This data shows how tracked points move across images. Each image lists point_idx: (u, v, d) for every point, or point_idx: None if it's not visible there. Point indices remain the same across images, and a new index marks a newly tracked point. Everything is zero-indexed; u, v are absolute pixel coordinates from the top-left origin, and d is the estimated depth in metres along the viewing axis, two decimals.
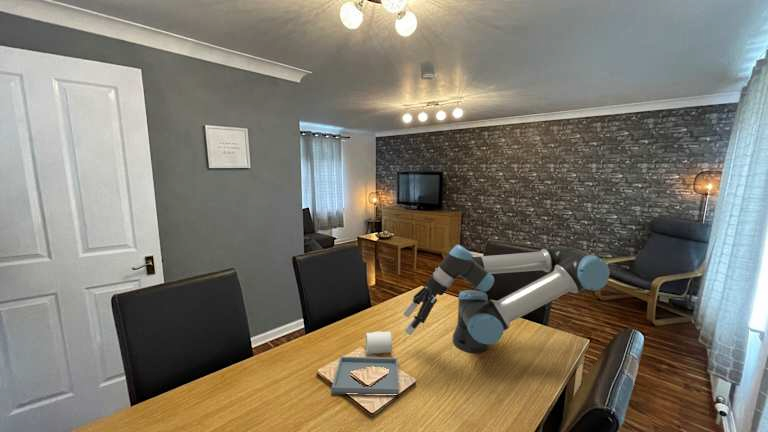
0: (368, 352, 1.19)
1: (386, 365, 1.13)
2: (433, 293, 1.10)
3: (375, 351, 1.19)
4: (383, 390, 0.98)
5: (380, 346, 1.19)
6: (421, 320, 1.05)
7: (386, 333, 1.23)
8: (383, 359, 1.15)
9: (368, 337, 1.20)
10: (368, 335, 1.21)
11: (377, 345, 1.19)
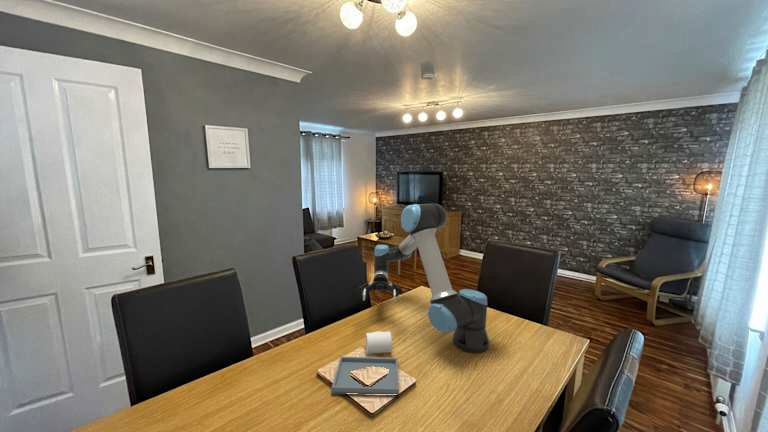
0: (368, 352, 1.19)
1: (386, 365, 1.13)
2: None
3: (375, 351, 1.19)
4: (383, 390, 0.98)
5: (380, 346, 1.19)
6: (358, 290, 1.40)
7: (386, 333, 1.23)
8: (383, 359, 1.15)
9: (368, 337, 1.20)
10: (368, 335, 1.21)
11: (377, 345, 1.19)
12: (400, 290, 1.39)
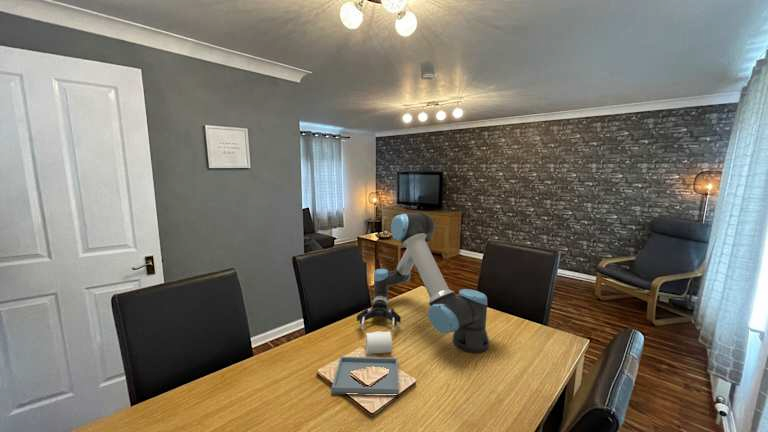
0: (368, 352, 1.19)
1: (386, 365, 1.13)
2: None
3: (375, 351, 1.19)
4: (383, 390, 0.98)
5: (380, 346, 1.19)
6: (357, 317, 1.40)
7: (386, 333, 1.23)
8: (383, 359, 1.15)
9: (368, 337, 1.20)
10: (368, 335, 1.21)
11: (377, 345, 1.19)
12: (399, 318, 1.38)
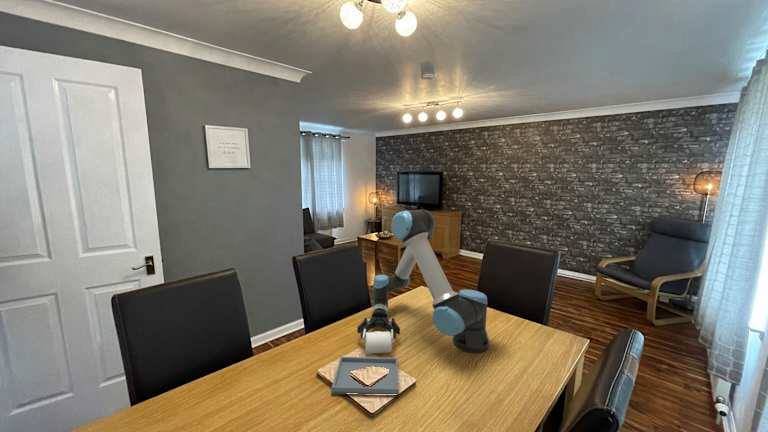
0: (367, 352, 1.19)
1: (386, 365, 1.13)
2: (370, 320, 1.38)
3: (374, 351, 1.19)
4: (383, 390, 0.98)
5: (379, 346, 1.19)
6: (357, 329, 1.29)
7: (386, 333, 1.23)
8: (383, 359, 1.15)
9: (367, 337, 1.20)
10: (367, 335, 1.21)
11: (376, 345, 1.19)
12: (398, 330, 1.28)
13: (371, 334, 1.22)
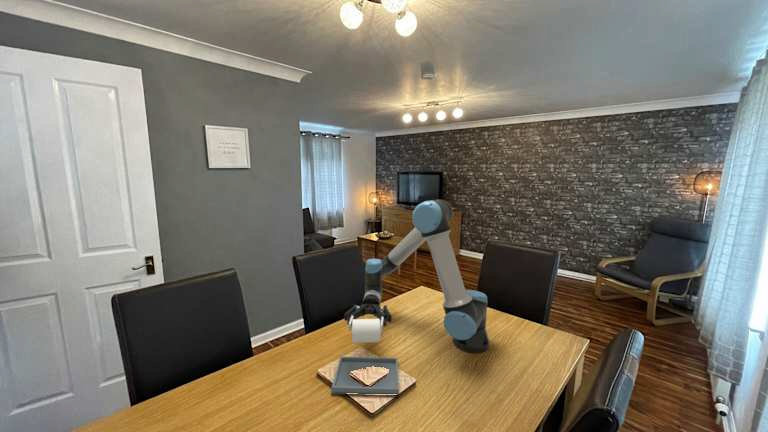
0: (353, 341, 1.06)
1: (386, 365, 1.13)
2: None
3: (361, 340, 1.06)
4: (383, 390, 0.98)
5: (367, 334, 1.05)
6: None
7: (375, 320, 1.08)
8: (383, 359, 1.15)
9: (354, 324, 1.06)
10: (354, 322, 1.07)
11: (363, 333, 1.05)
12: (389, 317, 1.13)
13: (358, 321, 1.08)
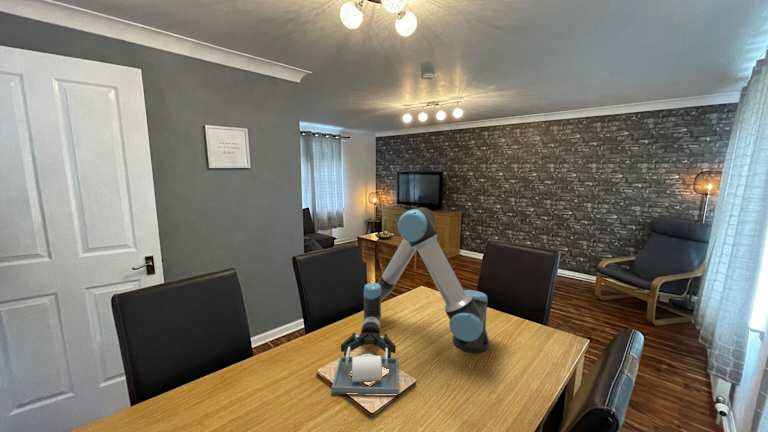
0: (353, 381, 1.01)
1: None
2: None
3: (362, 380, 1.01)
4: (383, 390, 0.98)
5: (368, 374, 1.01)
6: None
7: (375, 358, 1.04)
8: (383, 359, 1.15)
9: (354, 363, 1.02)
10: (354, 360, 1.03)
11: (364, 373, 1.01)
12: (394, 348, 1.10)
13: (358, 359, 1.03)
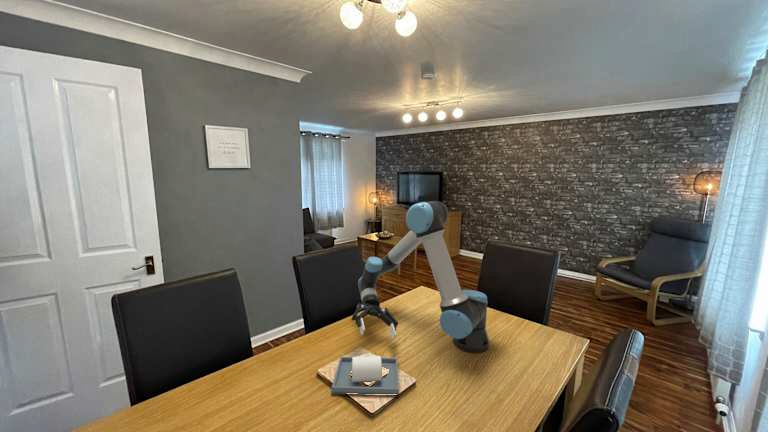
0: (353, 381, 1.01)
1: (386, 365, 1.13)
2: None
3: (362, 380, 1.01)
4: (383, 390, 0.98)
5: (368, 374, 1.01)
6: None
7: (375, 358, 1.04)
8: (383, 359, 1.15)
9: (354, 363, 1.02)
10: (354, 360, 1.03)
11: (364, 373, 1.01)
12: (397, 324, 1.27)
13: (358, 359, 1.03)
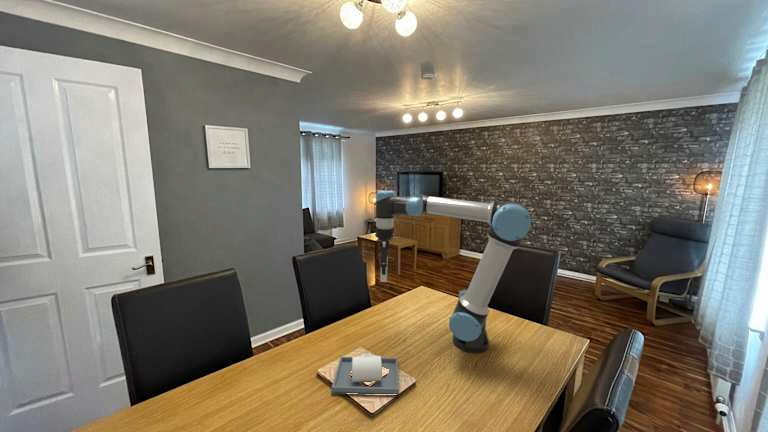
0: (353, 381, 1.01)
1: (386, 365, 1.13)
2: (383, 239, 1.24)
3: (362, 380, 1.01)
4: (383, 390, 0.98)
5: (368, 374, 1.01)
6: (383, 265, 1.18)
7: (375, 358, 1.04)
8: (383, 359, 1.15)
9: (354, 363, 1.02)
10: (354, 360, 1.03)
11: (364, 373, 1.01)
12: None
13: (358, 359, 1.03)
